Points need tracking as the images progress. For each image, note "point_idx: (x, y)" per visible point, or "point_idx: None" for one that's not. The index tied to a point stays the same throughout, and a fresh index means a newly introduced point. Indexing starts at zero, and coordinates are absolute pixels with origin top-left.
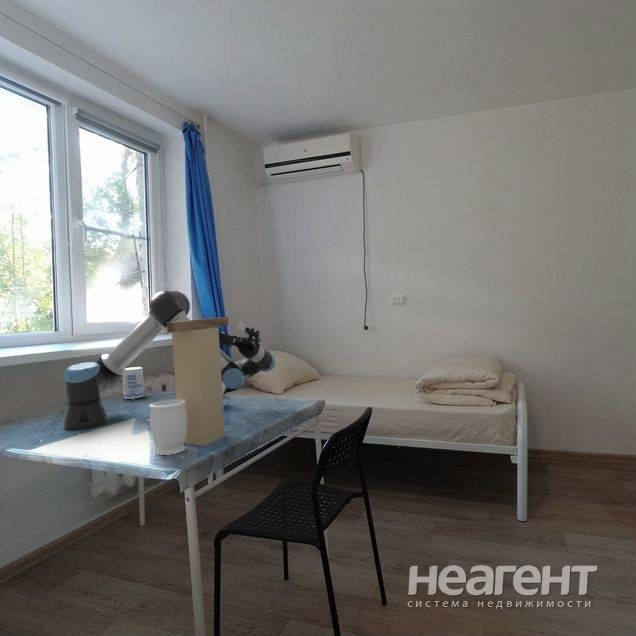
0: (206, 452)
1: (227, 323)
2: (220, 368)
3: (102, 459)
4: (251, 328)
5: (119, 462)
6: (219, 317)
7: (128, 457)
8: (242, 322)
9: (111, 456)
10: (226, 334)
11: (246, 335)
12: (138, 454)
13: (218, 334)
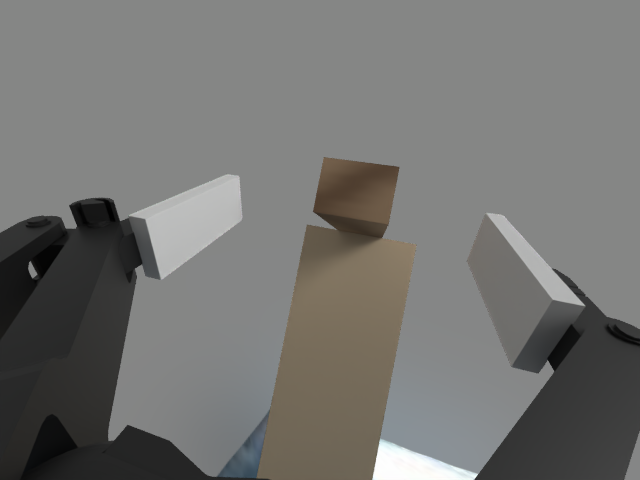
0: (259, 460)
1: (317, 199)
2: (279, 365)
3: (428, 460)
4: (113, 202)
5: (386, 443)
6: (383, 167)
7: (392, 461)
8: (220, 177)
9: (428, 471)
10: (530, 404)
11: (170, 267)
12: (387, 473)
13: (302, 248)
